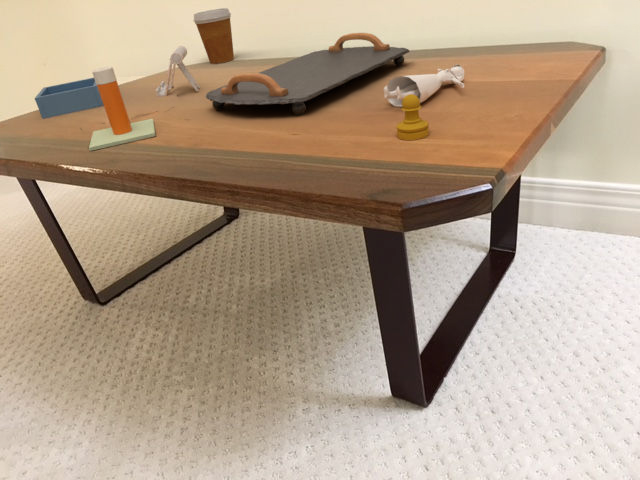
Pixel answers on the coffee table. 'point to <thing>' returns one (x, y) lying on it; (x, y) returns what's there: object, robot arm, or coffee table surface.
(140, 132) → the mat
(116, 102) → the glue stick
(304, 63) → the serving tray
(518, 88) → the coffee table surface
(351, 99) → the coffee table surface
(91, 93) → the box
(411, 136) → the chess piece
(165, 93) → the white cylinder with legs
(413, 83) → the woman figurine
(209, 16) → the disposable coffee cup
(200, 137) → the coffee table surface
